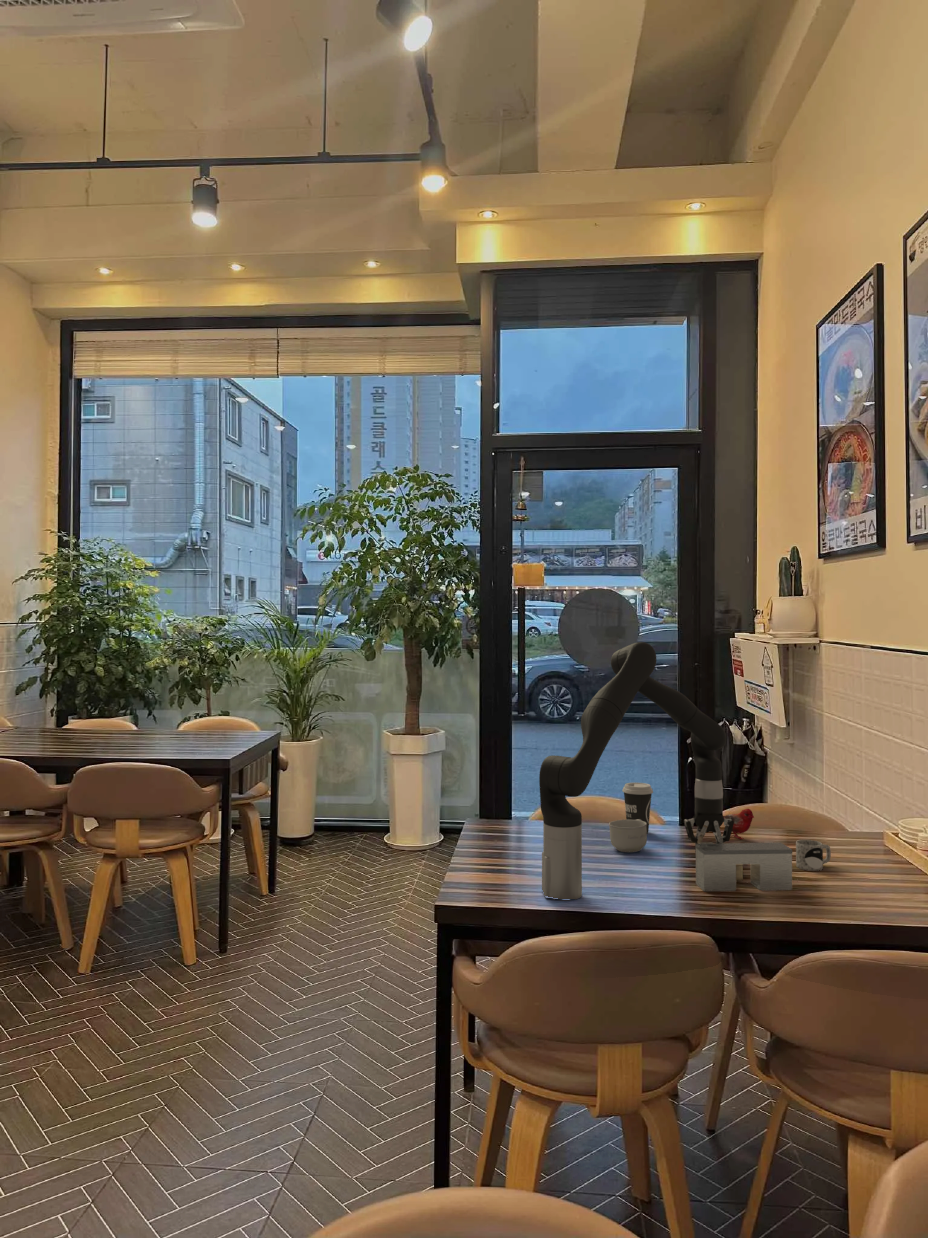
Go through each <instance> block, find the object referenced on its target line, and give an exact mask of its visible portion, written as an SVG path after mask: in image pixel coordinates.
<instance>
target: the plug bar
mask: <svg viewBox="0 0 928 1238" xmlns="http://www.w3.org/2000/svg"><path fill="white" fill-rule="evenodd" d="M712 843H714V842H710V841H708V842H704V841H702V843H701V844H712ZM743 866H744V864H736V881H744V873H743V872H744V870H743V869H744V867H743Z"/></svg>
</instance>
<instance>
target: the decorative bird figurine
mask: <svg viewBox="0 0 928 1238" xmlns="http://www.w3.org/2000/svg"><path fill="white" fill-rule="evenodd" d="M723 817H724V818H725V819H731V820H732V821H734V825H733V829H732V833H733V835H732V834H731V837H734V838H737V839H738V840H745V838H743V837H741V836H739V834H744V833H746V832H747V831H748V830H749V829H750V827H751V825H752V822H753V819H755V817H754V814H753V811H752V810H751V809H750V808H745V809H742V810H741V811H740V812H739V813H731V814H727V815H723Z"/></svg>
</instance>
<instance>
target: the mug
mask: <svg viewBox="0 0 928 1238" xmlns="http://www.w3.org/2000/svg"><path fill="white" fill-rule="evenodd" d="M824 850H825V851H826V854H825V855H826V857H825V858H824ZM831 852H832V850H831V846H830V845H829V844H824V843H822V842H821V841H818V840H812V839H798V840H796V841H795V867H796V868H797V869H799V870H803V871H807V872H808V871H809V872H820V871H823V870H824V865H825V864H827V863H829V862H830V861H831V855H832V854H831ZM822 869H823V870H822ZM819 870H820V871H819Z"/></svg>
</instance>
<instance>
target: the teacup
mask: <svg viewBox="0 0 928 1238" xmlns="http://www.w3.org/2000/svg"><path fill="white" fill-rule="evenodd" d="M646 825H647V823H646V822H644V821H642V820H640V819H636V820H629V819H628V820H626V819H617V820H612V821H609V823H608V826H609V838H610V843H611V845H612V847H614V848H615V849H616V850H617V851H618V852H621V853H636V852H640V851H641V850H642V849H643V848H644V847H646V844H647V841H648V840H647V839H648V834H647V829H646Z"/></svg>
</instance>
